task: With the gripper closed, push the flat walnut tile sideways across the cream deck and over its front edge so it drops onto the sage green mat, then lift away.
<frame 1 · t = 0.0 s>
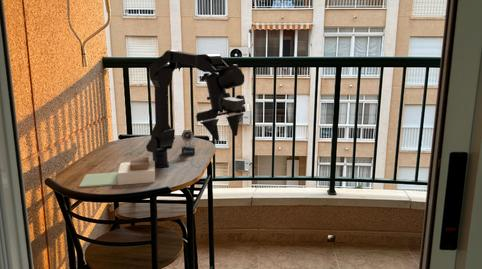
hand: (226, 138, 132), 15 cm above the table, tool pointing down, fingers open, 9 cm apart
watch: (188, 154, 174), on the table
walnut tile: (139, 166, 142), point 4 cm above the table, touching cream deck
sage green mat: (101, 180, 140), on the table
cream deck: (137, 177, 142), on the table
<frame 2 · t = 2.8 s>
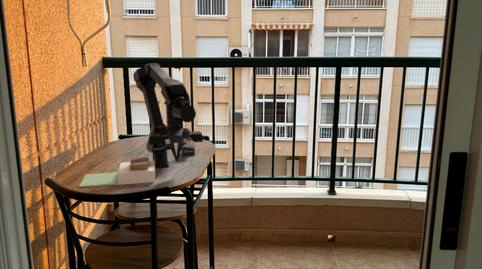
hand: (176, 161, 144), 5 cm above the table, tool pointing down, fingers closed
nothing on the table moved.
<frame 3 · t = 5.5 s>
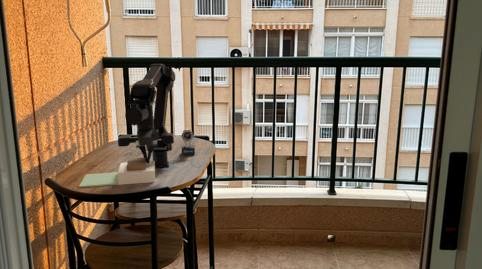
hand: (147, 163, 142), 5 cm above the table, tool pointing down, fingers closed
walnut tile: (136, 166, 141), point 4 cm above the table, touching cream deck, gripper
everything else where it was.
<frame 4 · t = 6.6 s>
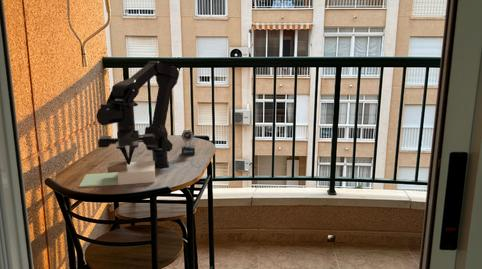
hand: (129, 164, 141), 5 cm above the table, tool pointing down, fingers closed
walnut tile: (118, 168, 140), point 4 cm above the table, touching cream deck, gripper
everything else where it was.
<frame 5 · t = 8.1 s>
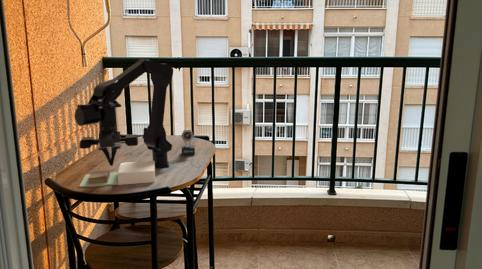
hand: (111, 165, 140), 5 cm above the table, tool pointing down, fingers closed
walnut tile: (99, 173, 139), point 2 cm above the table, tilted 180°, touching sage green mat
everything else where it was.
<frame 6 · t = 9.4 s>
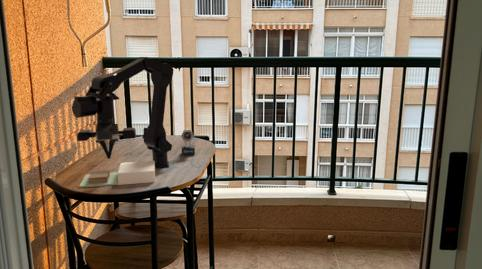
hand: (109, 158, 139), 8 cm above the table, tool pointing down, fingers closed
nothing on the table moved.
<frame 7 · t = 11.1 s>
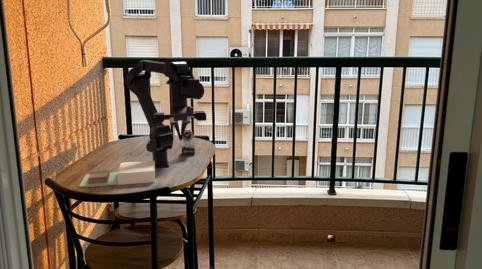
hand: (180, 140, 146), 12 cm above the table, tool pointing down, fingers closed
nothing on the table moved.
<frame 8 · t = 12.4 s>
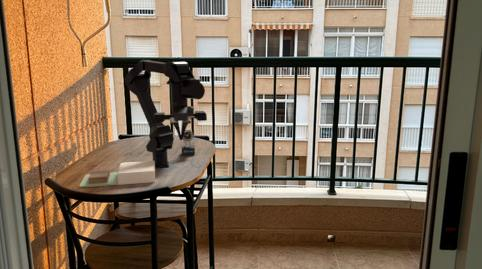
hand: (181, 140, 146), 12 cm above the table, tool pointing down, fingers closed
nothing on the table moved.
at the end: walnut tile point 2.5 cm above the table; walnut tile inside the target area (0.6 cm from its centre), point 2.5 cm above the table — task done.
